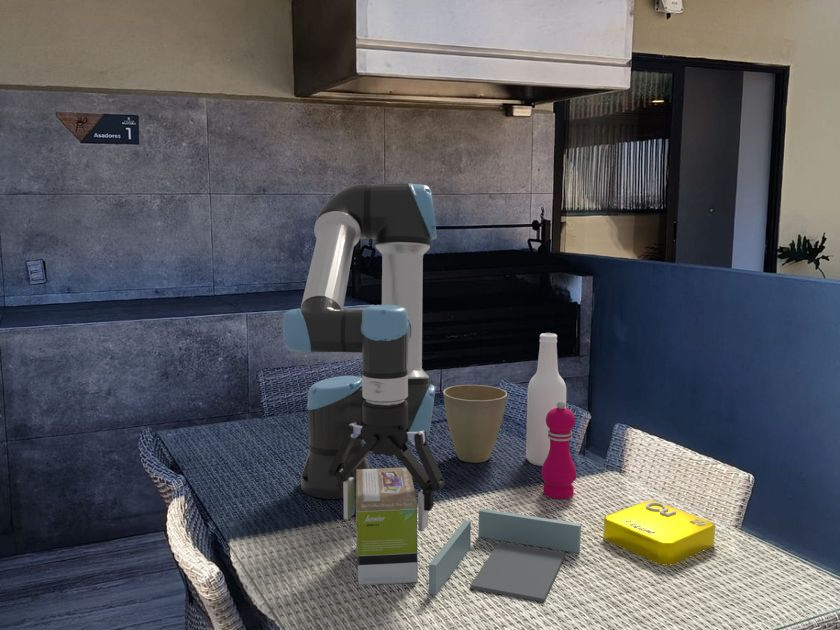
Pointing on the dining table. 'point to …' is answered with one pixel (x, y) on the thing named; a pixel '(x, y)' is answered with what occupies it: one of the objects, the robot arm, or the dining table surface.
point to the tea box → (386, 526)
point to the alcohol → (543, 399)
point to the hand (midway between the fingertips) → (385, 522)
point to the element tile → (659, 532)
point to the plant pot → (474, 419)
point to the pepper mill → (559, 454)
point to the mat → (519, 571)
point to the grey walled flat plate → (502, 539)
